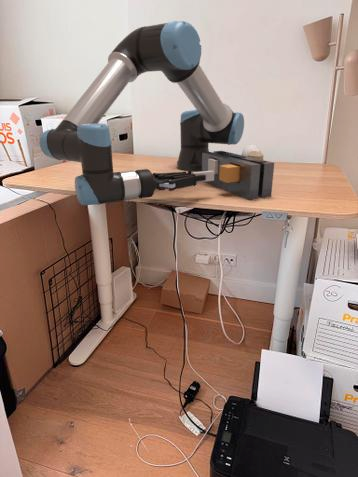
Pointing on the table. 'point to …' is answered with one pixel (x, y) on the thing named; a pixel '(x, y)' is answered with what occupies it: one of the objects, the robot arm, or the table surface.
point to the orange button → (229, 173)
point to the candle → (256, 155)
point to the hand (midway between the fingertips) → (212, 175)
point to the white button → (213, 165)
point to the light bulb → (249, 149)
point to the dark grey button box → (243, 174)
